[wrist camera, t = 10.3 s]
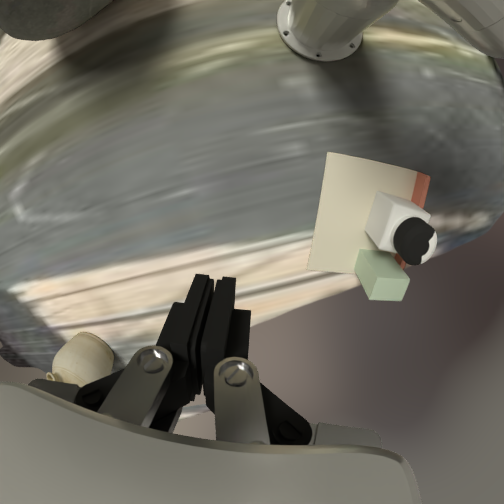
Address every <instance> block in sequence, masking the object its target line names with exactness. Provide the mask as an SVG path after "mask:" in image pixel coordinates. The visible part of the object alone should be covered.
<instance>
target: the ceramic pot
mask: <svg viewBox="0 0 504 504" xmlns="http://www.w3.org/2000/svg"><path fill="white" fill-rule="evenodd" d="M112 1H113V0H0V28H1V29H2V30H3V31H4V32H5V33H7V34H8V35H10V36H11V37H13V38H16V39H21V40H31V41H39V40H46V39H52V38H55V37H58V36H60V35H63V34H65V33H67V32H69V31H71V30H73V29H75V28H77V27H79V26H81V25H82V24H83V23H85V22H86V21H87V20H89V19H90V18H91V17H93V16H94V15H95V14H97V13H98V12H99V11H100V10H102V9H103V8H104V7H105V6H107V5H108V4H109V3H110V2H112Z"/></svg>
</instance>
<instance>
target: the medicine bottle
mask: <svg viewBox="0 0 504 504" xmlns="http://www.w3.org/2000/svg"><path fill="white" fill-rule="evenodd" d="M430 218H431V215H430V214H429V213H427V212H426V211H424V210H423V209H422V208H420V207H419V206H417V205H416V204H415V203H413V202H412V201H410V200H407V199H404V198H401V197H398V196H394V195H391V194H388V193H384V192H381V191H377V192H376V194H375V198H374V201H373V204H372V207H371V211H370V214H369V217H368V220H367V223H366V226H365V232H366V233H367V234H368V235H369V237H370V238H371V239H372V241H373V242H374V243H375V244H376V246H377V247H378V248H379V249H380V250H384V251H389V252H394V253H398V254H399V255H400V257H401V258H402V259H403V260H404V261H405V262H406V263H407V264H409V265H419V264H422V263H424V262H425V261H427V260H428V259H429V258H430V257H431V256H432V254H433V253H434V251H435V248H436V244H437V235H436V232H435V230H434V229H433V228H432V227H431V226H430V225H429V224H428V223H429V221H430Z"/></svg>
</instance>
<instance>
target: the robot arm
mask: <svg viewBox="0 0 504 504" xmlns="http://www.w3.org/2000/svg"><path fill="white" fill-rule="evenodd" d="M398 1H399V0H285V1H284V2H283V3H282V4H281V6H280V8H279V10H278V13H277V18H276V24H277V29H278V32H279V34H280V36H281V38H282V39H283V41H284V42H285V43H286V44H287V45H288V46H289V47H290V48H291V49H292V50H294V51H295V52H296V53H298V54H300V55H302V56H304V57H306V58H309V59H312V60H316V61H325V62H330V61H337V60H341V59H343V58H345V57H347V56H349V55H351V54H352V53H353V52H354V51H355V50H356V49H357V48H358V47H359V45H360V43H361V40H362V34H363V31H364V30H365V29H367V28H368V27H369V26H370V25H372V24H373V23H374V22H376V21H377V20H378V19H380V18H381V17H383V16H384V15H385V14H387V13H388V12H389V11H391V10H392V9H393V8H394V7H395V6H396V4H397V3H398ZM418 1H420V2H421V3H422V4H424V5H425V6H426V7H428V8H429V9H430V10H432V11H433V12H434V13H435V14H437V15H438V16H439V17H440V18H442V19H443V20H444V21H445V22H446V23H447V24H449V25H450V26H451V27H452V28H453V29H454V30H455V31H456V32H458V33H459V34H460V35H461V36H462V37H463V38H464V39H465V40H466V41H468V42H469V43H470V44H471V45H472V46H474V47H475V48H476V49H478V50H479V51H481V52H482V53H484V54H486V55H489V56H492V57H495V58H504V0H418ZM287 5H290V6H287ZM284 34H287V36H285V35H284ZM350 46H352V48H351V47H350ZM316 55H319V57H317V56H316ZM235 287H236V278H232V277H223V278H222V280H217V283H216V287H215V290H214V279H210V277H209V275H203V274H196V275H195V277H194V280H193V282H192V285H191V287H190V290H189V292H188V295H187V298H186V300H185V303H179V302H174V303H173V305H172V307H171V310H170V312H169V315H168V317H167V319H166V322H165V324H164V326H163V329H162V331H161V334H160V336H159V339H158V341H157V344H156V346H147V347H143V348H141V349H140V350H138V351H137V352H136V353H135V354H134V356H133V357H132V359H131V360H130V362H129V363H128V365H127V366H126V368H125V369H123V370H120V371H118V372H115V373H113V374H111V375H108V376H106V377H103V378H101V379H98V380H96V381H93V382H91V383H88V384H86V385H84V386H83V387H79V386H78V384H71V383H64V382H57V381H51V380H45V379H35V380H33V381H31V382H30V383H29V384H28V385H25V384H21V383H15V382H0V504H422V501H421V497H420V492H419V489H418V484H417V481H416V478H415V476H414V473H413V471H412V468H411V467H410V465H409V463H408V462H407V461H406V460H405V459H404V458H403V457H402V456H401V455H399V454H397V453H395V452H392V451H389V450H386V449H382V442H381V438H380V436H379V435H378V434H377V433H376V432H375V431H373V430H370V429H364V428H355V427H347V426H339V425H332V424H325V423H318V425H317V424H311V423H308V422H307V420H305V419H304V418H303V417H302V416H300V415H299V414H298V413H297V412H295V411H294V410H293V409H292V408H290V407H289V406H288V405H286V404H285V403H284V402H283V401H282V400H281V399H279V398H278V397H277V396H276V395H274V394H273V393H272V392H271V391H270V390H269V389H267V388H266V387H265V386H264V385H262V383H260V381H259V374H258V371H257V368H256V367H255V366H254V364H253V363H252V362H250V361H249V360H248V348H249V333H250V319H251V310H240V309H234V303H235ZM202 384H203V389H204V390H203V391H204V395H205V397H206V406H207V407H208V408H209V409H210V410H211V411H212V412H213V413H214V414H215V428H216V440H208V439H201V438H194V437H189V436H183V435H178V434H173V431H174V428H175V426H176V424H177V422H178V419H179V417H180V415H181V412H182V408H183V406H185V405H186V404H188V403H190V401H194V399H195V395H196V394H198V395H200V393H201V389H202Z"/></svg>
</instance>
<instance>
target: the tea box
mask: <svg viewBox="0 0 504 504" xmlns="http://www.w3.org/2000/svg"><path fill="white" fill-rule="evenodd" d="M354 270H355V272H356V274H357V276H358V278H359V280H360V282H361V284H362V286H363V288H364V290H365V292H366V294H367V296H368V298H369V300H388V301H401V300H402V299H403V296H404V294H405V291H406V289H407V287H408V284H409V282H410V279H409V277H408V276H407V275H406V273H405V272H404V271H403V269H402V268H401V267H400V265H399V264H398V263H397V261H396V260H395V259H394V257H393V256H392V255H391V254H390V252H385V251H376V250H367V249H359V253H358V256H357V260H356V263H355V267H354Z"/></svg>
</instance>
